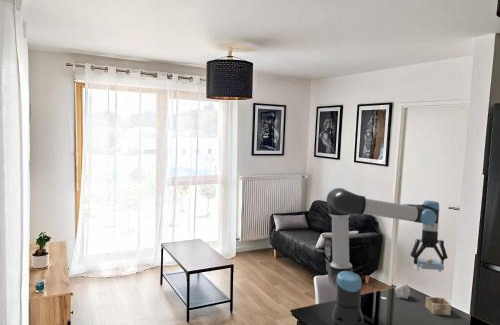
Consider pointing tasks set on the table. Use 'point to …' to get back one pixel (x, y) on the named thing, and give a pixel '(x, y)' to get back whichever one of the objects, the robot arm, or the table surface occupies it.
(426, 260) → the lid
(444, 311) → the box
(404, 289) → the grey faceted lump
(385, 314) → the table surface
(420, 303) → the table surface
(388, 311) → the table surface
